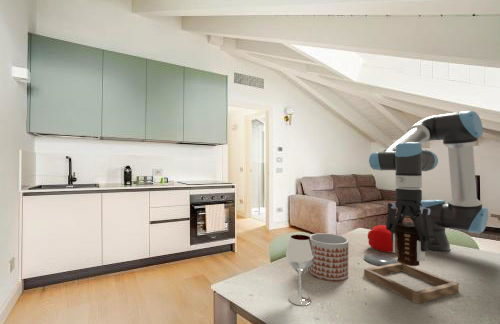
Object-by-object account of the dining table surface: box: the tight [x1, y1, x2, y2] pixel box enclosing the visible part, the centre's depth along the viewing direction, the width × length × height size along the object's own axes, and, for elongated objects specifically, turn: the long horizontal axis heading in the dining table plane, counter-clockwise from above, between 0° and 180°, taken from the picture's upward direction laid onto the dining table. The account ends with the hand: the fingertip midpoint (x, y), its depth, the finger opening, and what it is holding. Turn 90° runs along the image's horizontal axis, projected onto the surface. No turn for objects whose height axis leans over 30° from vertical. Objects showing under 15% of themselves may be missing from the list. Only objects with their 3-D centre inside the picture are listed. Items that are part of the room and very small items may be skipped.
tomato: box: [367, 224, 394, 253], centre depth 116 cm, size 13×13×13 cm
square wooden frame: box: [363, 263, 460, 304], centre depth 82 cm, size 19×19×2 cm
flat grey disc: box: [363, 253, 398, 266], centre depth 102 cm, size 13×13×1 cm
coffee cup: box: [393, 221, 421, 267], centre depth 82 cm, size 9×8×13 cm
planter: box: [308, 232, 349, 282], centre depth 90 cm, size 14×14×13 cm
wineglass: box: [285, 234, 315, 307], centre depth 71 cm, size 8×8×18 cm
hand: (408, 256), depth 82 cm, fingers closed on coffee cup, 8 cm apart
